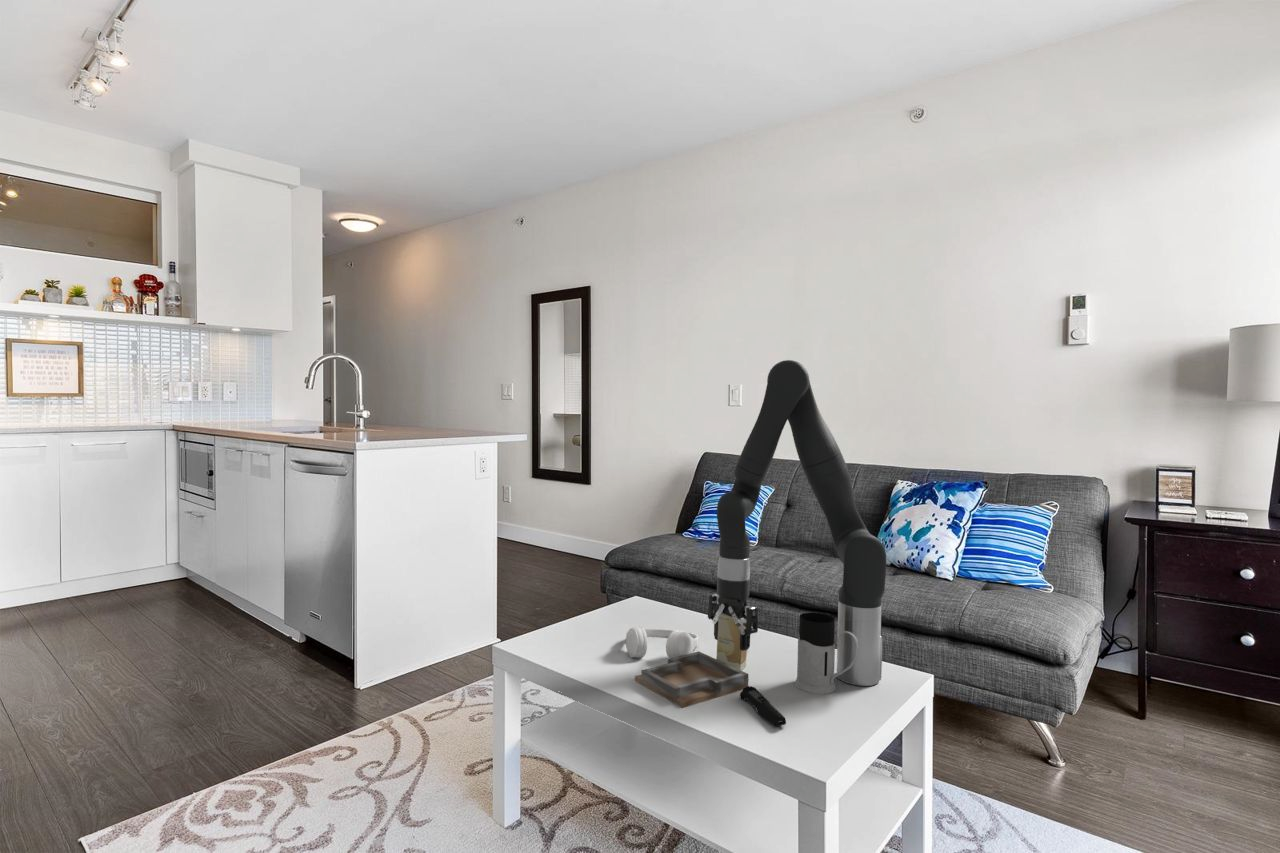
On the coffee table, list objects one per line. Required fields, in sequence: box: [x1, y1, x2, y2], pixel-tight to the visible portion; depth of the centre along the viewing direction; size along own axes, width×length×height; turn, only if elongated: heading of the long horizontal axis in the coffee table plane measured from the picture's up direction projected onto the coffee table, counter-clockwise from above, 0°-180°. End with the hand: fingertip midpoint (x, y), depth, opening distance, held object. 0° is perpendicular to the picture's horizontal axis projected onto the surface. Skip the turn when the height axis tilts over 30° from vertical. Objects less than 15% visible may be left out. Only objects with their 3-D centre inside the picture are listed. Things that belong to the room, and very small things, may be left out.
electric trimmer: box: [739, 685, 787, 727], centre depth 133 cm, size 4×16×3 cm, turn 16°
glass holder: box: [794, 612, 858, 695], centre depth 145 cm, size 9×14×15 cm, turn 42°
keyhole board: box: [634, 651, 749, 708], centre depth 146 cm, size 18×16×3 cm
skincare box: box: [715, 613, 748, 671], centre depth 157 cm, size 6×4×12 cm
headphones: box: [625, 626, 700, 659], centre depth 167 cm, size 7×18×20 cm
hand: (731, 644), depth 157 cm, fingers open, 8 cm apart
